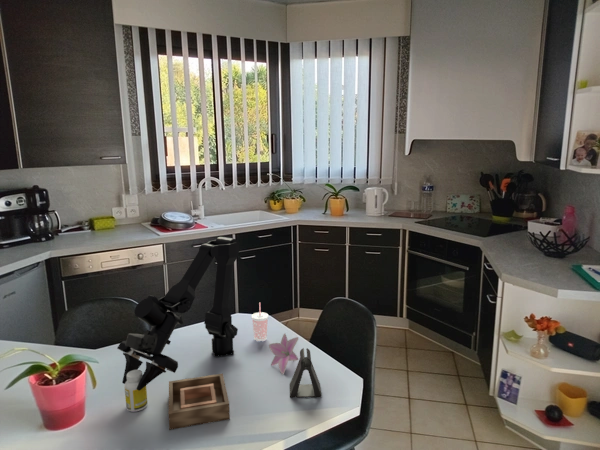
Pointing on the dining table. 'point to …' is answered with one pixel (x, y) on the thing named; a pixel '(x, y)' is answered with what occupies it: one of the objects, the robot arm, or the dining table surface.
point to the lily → (283, 352)
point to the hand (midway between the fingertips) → (130, 386)
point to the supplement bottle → (135, 392)
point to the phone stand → (295, 386)
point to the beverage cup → (260, 325)
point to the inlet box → (197, 401)
